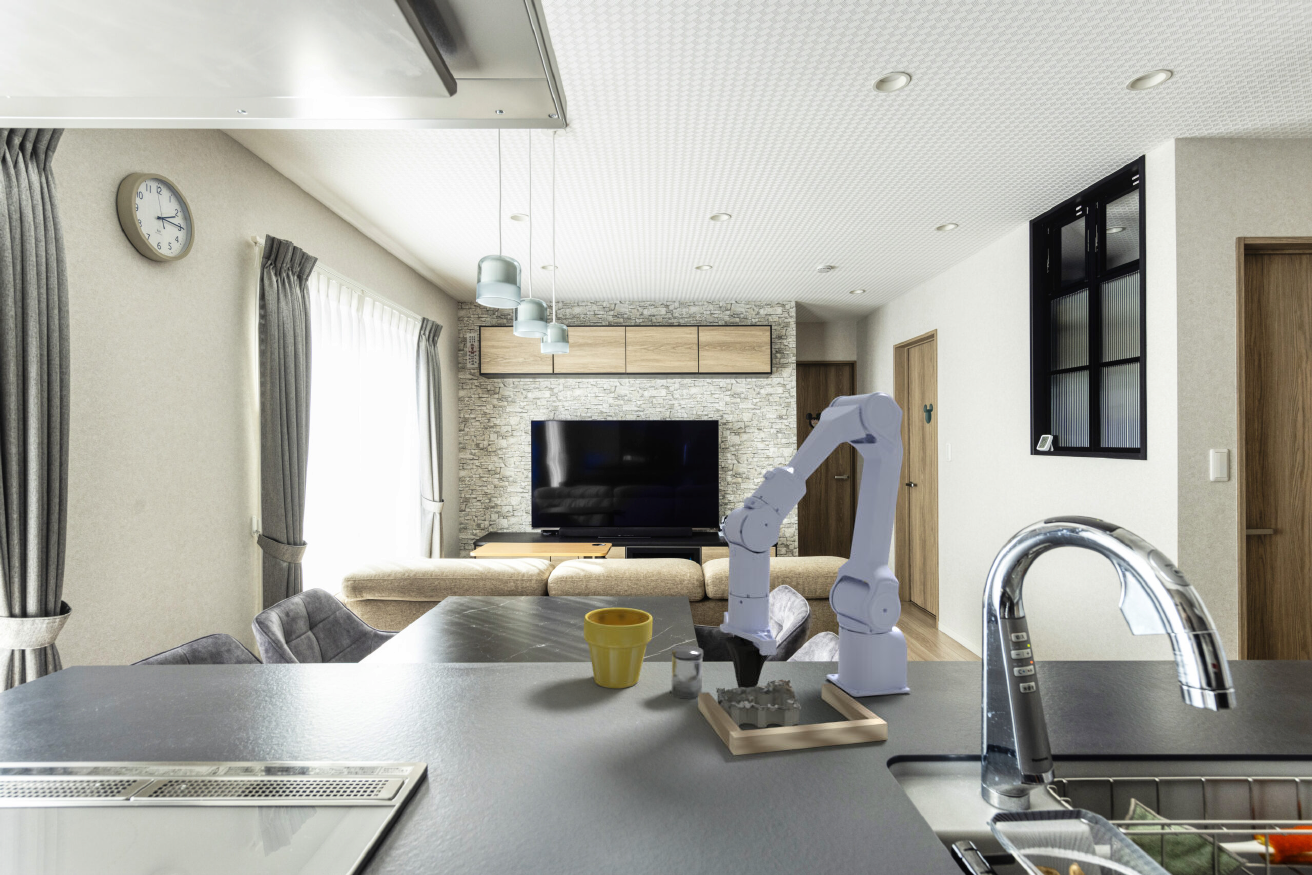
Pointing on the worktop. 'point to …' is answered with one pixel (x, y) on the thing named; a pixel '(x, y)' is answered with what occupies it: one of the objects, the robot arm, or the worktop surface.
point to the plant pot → (617, 644)
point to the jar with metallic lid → (686, 672)
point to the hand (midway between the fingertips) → (747, 690)
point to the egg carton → (761, 704)
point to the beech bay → (798, 727)
